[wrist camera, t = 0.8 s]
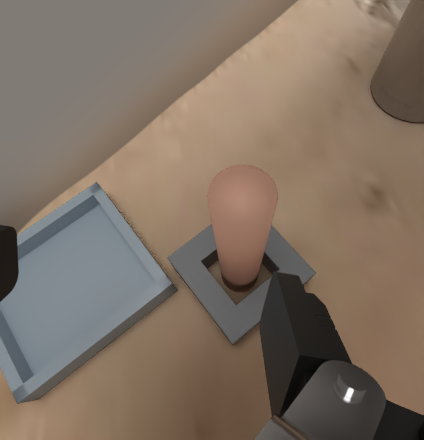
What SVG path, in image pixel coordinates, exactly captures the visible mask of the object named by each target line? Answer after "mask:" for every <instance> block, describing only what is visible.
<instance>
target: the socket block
mask: <svg viewBox="0 0 424 440" xmlns="http://www.w3.org/2000/svg"><path fill="white" fill-rule="evenodd" d="M167 258H168V260H169V261H170V262H171V264H172V265H173V267H174V268H175V269H176V271H177V272H178V273H179V275H180V276H181V277H182V279H183V280H184V281H185V283H186V284H187V285H188V287H189V288H190V289H191V291H192V292H193V293H194V294H195V296H196V297H197V298H198V300H199V301H200V302H201V304H202V305H203V306H204V308H205V309H206V310H207V312H208V313H209V314H210V316H211V317H212V318H213V320H214V321H215V322H216V324H217V325H218V326H219V327H220V329H221V330H222V331H223V333H224V334H225V335H226V337H227V338H228V339H229V341H230V342H231V343H232V345H234V344H235V343H236V342H237V341H239V340H240V339H241V338H242V337H243V336H244V335H246V334H247V333H248V332H249V331H250V330H251V329H253V328H254V327H255V326H256V325H257V324H259V323H260V320H261V314H262V310H263V306H264V302H265V299H266V295H267V291H268V287H269V284H270V280H271V277H272V276H271V277H270V278H269V279H268V280H266V281H265V282H264V283H263V284H261V285H260V286H259V287H258V288H257V289H255V290H254V291H253V292H252V293H251V294H249V295H248V296H247V297H246V298H245V299H243V300H242V301H241V302H240V303H238V304H237V305H235V303H234V302H233V301H232V300H231V298H230V297H229V296H228V295H227V293H226V292H225V291H224V290H223V288H222V287H221V286H220V285H219V283H218V282H217V281H216V280H215V278H214V277H213V276H212V275H211V273H210V272H209V271H208V270H207V268H208V267H210V266H211V265H212V264H213V263H215V262H216V261H217V260H219V259H218V253H217V248H216V243H215V237H214V232H213V226H212V224H211V225H210V226H209V227H207V228H206V229H205V230H203V231H202V232H201V233H199V234H198V235H197V236H195V237H194V238H193V239H191V240H190V241H189V242H187V243H186V244H185V245H183V246H182V247H181V248H179V249H178V250H177V251H175V252H174V253H173V254H171V255H170V256H169V257H167ZM262 263H263V264H264V265H265V267H266V268H267V269H268V270H269V271H270V272H271V273H272V274H273V273H274V272H281V273H287V274H293V275H298V276H299V277H300V280H301V282H302V285H304V284H306V283H307V282H308V281H309V280H310V279H311V278H312V277H313V276H314V274H315V273H316V272H315V271H314V270H313V269H312V268H311V267H310V266H309V265H308V264H307V263H306V262H305V260H304V259H303V258H302V257H301V256H300V255H299V254H298V253H297V252H296V251H295V250H294V249H293V248H292V247H291V246H290V244H289V243H288V242H287V241H286V240H285V239H284V238H283V237H282V236H281V235H280V234H279V233H278V232H277V231H276V230H275V228H274V227H273V226H272V225H271V228H270V232H269V235H268V239H267V243H266V247H265V251H264V255H263V258H262Z"/></svg>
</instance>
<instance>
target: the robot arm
mask: <svg viewBox="0 0 424 440" xmlns="http://www.w3.org/2000/svg"><path fill="white" fill-rule="evenodd" d="M371 91H372V95H373V97H374V99H375V101H376V102H377V103H378V105H379V106H380V107H381V108H382V109H383V110H384V111H386V112H387V113H389V114H390V115H392V116H394V117H397V118H399V119H401V120H405V121H409V122H424V0H410V2H409V4H408V6H407V8H406V10H405V12H404V14H403V16H402V18H401V20H400V22H399V24H398V26H397V29H396V31H395V33H394V35H393V37H392V39H391V41H390V43H389V45H388V47H387V49H386V51H385V53H384V55H383V57H382V59H381V61H380V63H379V66H378V68H377V70H376V72H375V74H374V76H373V78H372V81H371ZM18 274H19V268H18V247H17V233H16V230H15V229H14V228H13V227H9V226H3V225H0V302H1V301H2V300H3V299H4V298H5V297H6V296H7V295H8V294H9V293H10V292H11V291H12V290H13V289H14V287H15V285H16V283H17V280H18ZM330 318H331V317H330V315H329V313H328V310H327V308H326V306H325V305H324V304H323V303H322V302H321V301H320V300H319V299H318V298H317V297H316V296H315V295H314V294H311V293H306V292H305V290H304V287H303V285H302V282H301V280H300V277H299V276H298V275H293V274H287V273H281V272H274V273H273V274H272V277H271V280H270V284H269V287H268V291H267V295H266V299H265V302H264V306H263V310H262V314H261V320H260V336H261V343H262V350H263V357H264V364H265V371H266V378H267V385H268V392H269V399H270V406H271V413H272V418H271V419H270V420H269V421H268V422H267V424H266V425H265V426H264V428H263V429H262V430H261V431H260V433H259V434H258V435H257V436H256V438H255V439H254V440H424V416H423V415H421V414H418V413H416V412H414V411H411V410H409V409H406V408H404V407H401V406H399V405H397V404H394V403H392V402H390V401H388V400H386V397H385V394H384V392H383V390H382V388H381V387H380V385H379V384H378V383H377V382H376V380H375V379H374V378H373V377H372V376H370V375H369V374H368V373H367V372H365V371H364V370H362V369H361V368H359V367H357V366H355V365H353V364H352V362H351V360H350V358H349V356H348V354H347V352H346V349H345V347H344V345H343V343H342V341H341V339H340V336H339V334H338V332H337V330H335V326H334V323H333V321H332V320H331V319H330Z"/></svg>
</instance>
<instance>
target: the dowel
mask: <svg viewBox="0 0 424 440" xmlns="http://www.w3.org/2000/svg"><path fill="white" fill-rule="evenodd" d="M207 197H208V205H209V210H210V216H211V221H212V226H213V232H214V237H215V243H216V248H217V253H218V259H219V264H220V270H221V275H222V280H223V282H224V284H225V285H226V287H227V288H229V289H230V290H232V291H234V292H245V291H248V290H250V289H251V288H252V287H253V286H254V285H255V283H256V281H257V277H258V274H259V270H260V266H261V262H262V258H263V255H264V251H265V247H266V243H267V239H268V235H269V232H270V228H271V224H272V220H273V216H274V213H275V209H276V205H277V200H278V192H277V188H276V185H275V183H274V181H273V180H272V178H271V177H270V176H269V175H268V174H267V173H266V172H264V171H263V170H261V169H259V168H257V167H254V166H250V165H235V166H231V167H228V168H226V169H224V170H223V171H221V172H220V173H218V174H217V175H216V176H215V177H214V179H213V180H212V182H211V184H210V186H209V189H208V195H207Z"/></svg>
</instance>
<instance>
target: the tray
mask: <svg viewBox="0 0 424 440" xmlns="http://www.w3.org/2000/svg"><path fill="white" fill-rule="evenodd" d="M17 247H18V268H19V274H18V280H17V283H16V285H15V287H14V289H13V290H12V291H11V292H10V293H9V294H8V295H7V296H6V297H5V298H4V299H3V300H2V301H1V302H0V368H1V370H2V372H3V374H4V376H5V379H6V381H7V383H8V385H9V387H10V389H11V391H12V393H13V396H14V398H15V400H16V402H17V404H18V403H23V402H28V401H33V400H37V399H39V398H40V397H42V396H43V395H44V394H46V393H47V392H48V391H49V390H51V389H52V388H53V387H55V386H56V385H57V384H58V383H60V382H61V381H62V380H63V379H65V378H66V377H67V376H69V375H70V374H71V373H72V372H74V371H75V370H76V369H78V368H79V367H80V366H81V365H83V364H84V363H85V362H87V361H88V360H89V359H90V358H92V357H93V356H94V355H95V354H97V353H98V352H99V351H101V350H102V349H103V348H104V347H106V346H107V345H108V344H110V343H111V342H112V341H113V340H115V339H116V338H117V337H118V336H120V335H121V334H122V333H124V332H125V331H126V330H127V329H129V328H130V327H131V326H133V325H134V324H135V323H136V322H138V321H139V320H140V319H141V318H143V317H144V316H145V315H147V314H148V313H149V312H150V311H152V310H153V309H154V308H156V307H157V306H158V305H159V304H161V303H162V302H163V301H164V300H166V299H167V298H168V297H170V296H171V295H172V294H173V293H175V292H176V291H177V288H176V287H175V286H174V284H173V283H172V282H171V280H170V279H169V278H168V276H167V275H166V274H165V272H164V271H163V270H162V268H161V267H160V266H159V264H158V263H157V261H156V260H155V259H154V257H153V256H152V255H151V253H150V252H149V251H148V249H147V248H146V247H145V245H144V244H143V243H142V241H141V240H140V239H139V237H138V236H137V235H136V233H135V232H134V230H133V229H132V228H131V226H130V225H129V224H128V222H127V221H126V220H125V218H124V217H123V216H122V214H121V213H120V212H119V210H118V209H117V208H116V206H115V205H114V203H113V202H112V201H111V199H110V198H109V197H108V195H107V194H106V193H105V192H104V190H103V189H102V188H101V187H100V185H99V184H98V183H97V182H96V183H95V184H93V185H92V186H90V187H89V188H87V189H86V190H84V191H83V192H81V193H80V194H78V195H77V196H75V197H74V198H72V199H71V200H69V201H68V202H66V203H65V204H63V205H62V206H60V207H59V208H57V209H56V210H54V211H53V212H51V213H50V214H48V215H47V216H45V217H44V218H42V219H41V220H39V221H38V222H37V223H35V224H34V225H32V226H31V227H29V228H28V229H26V230H25V231H23V232H22V233H20V234H19V235H17Z"/></svg>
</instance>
